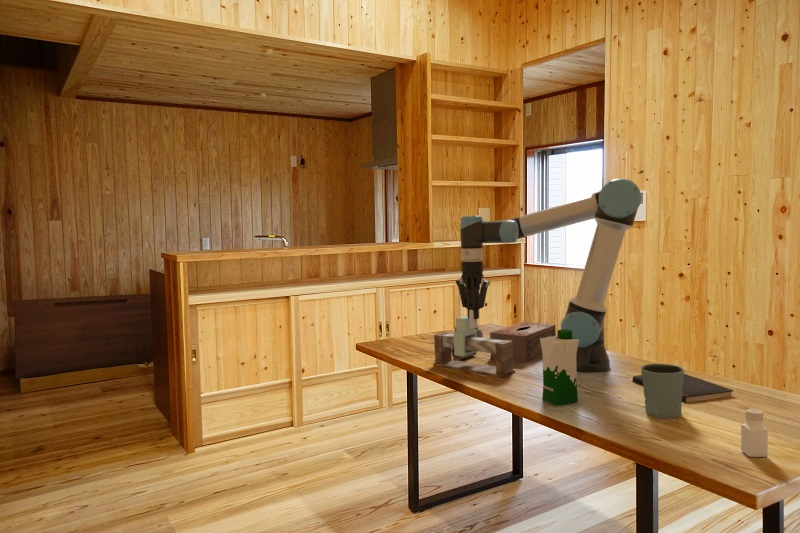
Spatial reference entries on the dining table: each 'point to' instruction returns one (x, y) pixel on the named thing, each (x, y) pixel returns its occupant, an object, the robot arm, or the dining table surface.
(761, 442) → the salt shaker
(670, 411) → the grey green cup
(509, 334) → the tissue box cover
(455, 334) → the pale green slider block
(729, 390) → the hardcover book
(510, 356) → the rail
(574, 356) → the milk carton
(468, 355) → the pipe
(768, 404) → the dining table surface
